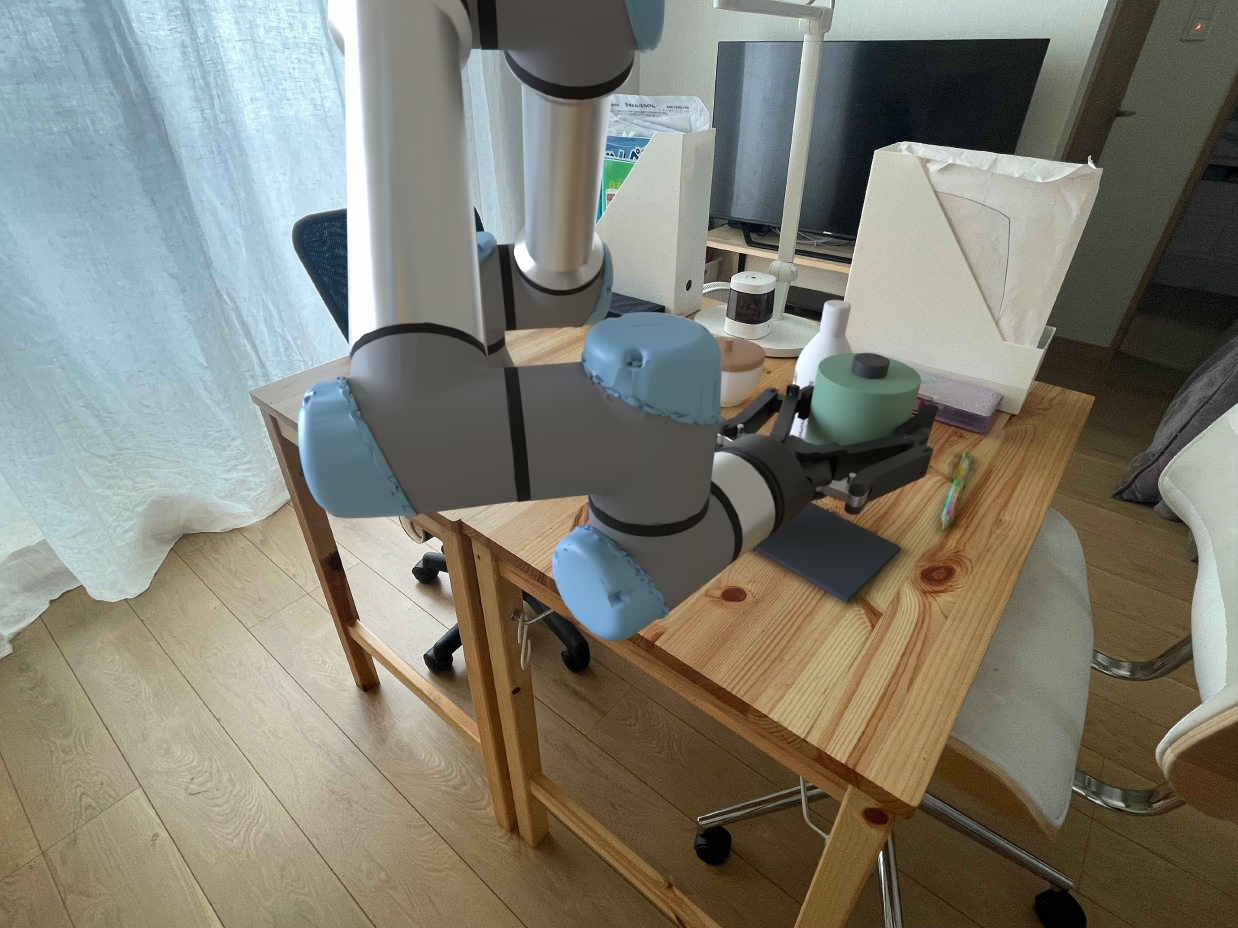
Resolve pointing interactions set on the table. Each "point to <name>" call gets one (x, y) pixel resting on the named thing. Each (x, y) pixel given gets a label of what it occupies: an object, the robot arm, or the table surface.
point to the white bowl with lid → (739, 369)
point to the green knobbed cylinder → (860, 398)
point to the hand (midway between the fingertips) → (882, 401)
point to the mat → (829, 551)
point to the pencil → (956, 489)
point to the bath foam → (821, 351)
